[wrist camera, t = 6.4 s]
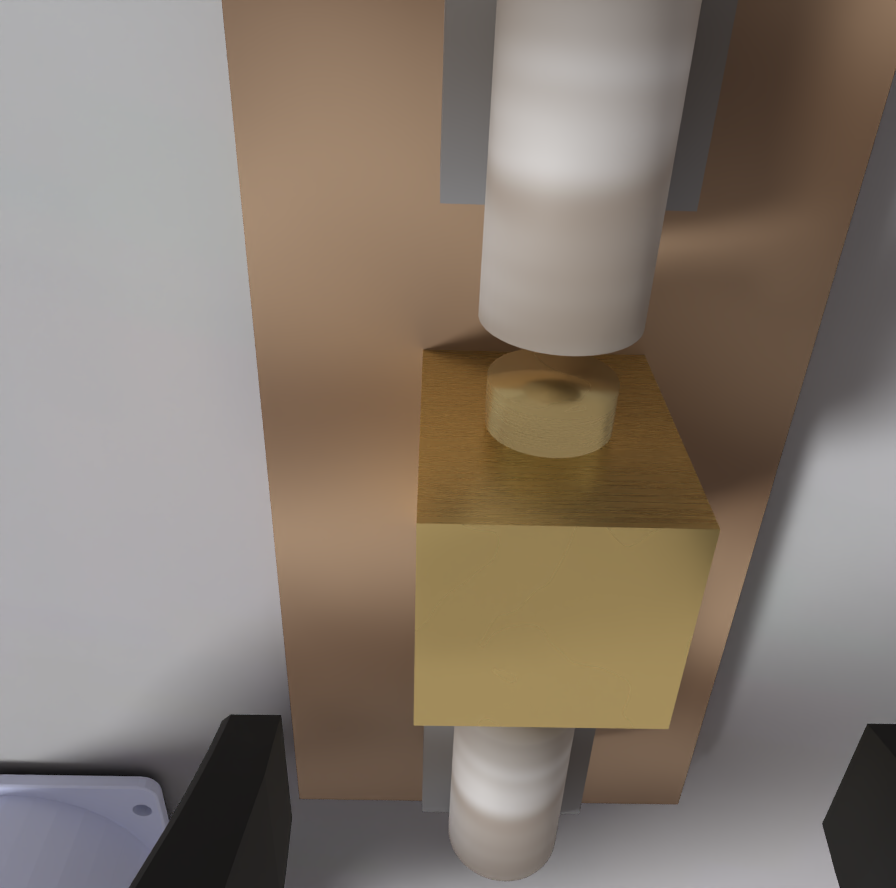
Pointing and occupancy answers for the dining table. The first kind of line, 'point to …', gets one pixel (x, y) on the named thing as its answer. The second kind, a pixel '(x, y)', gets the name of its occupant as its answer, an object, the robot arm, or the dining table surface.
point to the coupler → (553, 543)
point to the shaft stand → (525, 318)
